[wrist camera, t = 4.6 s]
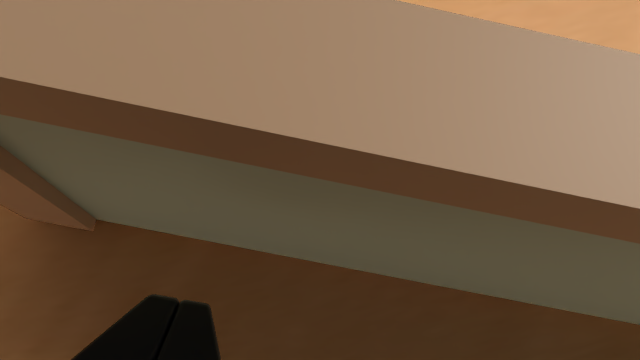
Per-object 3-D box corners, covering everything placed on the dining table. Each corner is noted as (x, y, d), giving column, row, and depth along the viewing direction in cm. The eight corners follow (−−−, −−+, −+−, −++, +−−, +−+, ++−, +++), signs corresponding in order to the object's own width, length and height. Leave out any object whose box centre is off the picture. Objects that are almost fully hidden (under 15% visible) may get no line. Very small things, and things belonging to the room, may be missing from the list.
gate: (831, 305, 16) (1636, 260, 7) (835, 382, 16) (1712, 448, 6) (48, 148, 15) (-295, -172, 6) (24, 226, 15) (-401, 18, 5)
